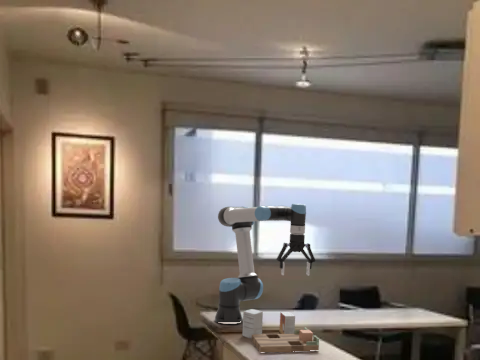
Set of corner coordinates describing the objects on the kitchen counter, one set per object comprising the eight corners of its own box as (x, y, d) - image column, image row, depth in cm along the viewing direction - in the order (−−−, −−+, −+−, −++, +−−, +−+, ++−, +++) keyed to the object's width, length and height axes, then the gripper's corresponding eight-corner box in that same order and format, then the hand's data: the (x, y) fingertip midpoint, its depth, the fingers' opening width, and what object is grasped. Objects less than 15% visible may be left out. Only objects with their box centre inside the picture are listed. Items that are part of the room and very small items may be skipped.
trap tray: (251, 340, 242) (252, 328, 242) (305, 339, 248) (306, 327, 248) (260, 353, 225) (261, 339, 225) (318, 351, 230) (319, 338, 231)
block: (299, 338, 240) (299, 329, 240) (308, 337, 241) (309, 329, 241) (302, 341, 235) (302, 333, 235) (312, 341, 236) (312, 332, 236)
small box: (279, 332, 259) (280, 312, 259) (289, 331, 260) (290, 311, 260) (284, 336, 251) (285, 316, 251) (294, 336, 252) (295, 315, 252)
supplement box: (250, 333, 255) (251, 308, 255) (262, 336, 250) (263, 311, 250) (241, 336, 249) (242, 311, 249) (253, 339, 244) (254, 313, 244)
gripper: (276, 234, 247) (273, 276, 247) (322, 235, 252) (320, 276, 252) (272, 232, 254) (269, 273, 254) (317, 233, 259) (315, 273, 259)
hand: (295, 275), depth 253 cm, fingers open, 13 cm apart
